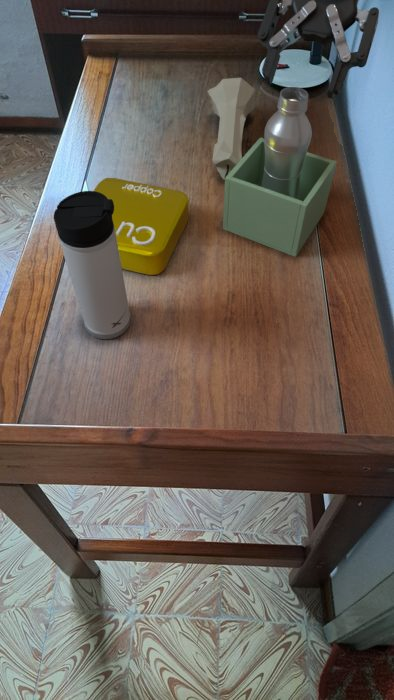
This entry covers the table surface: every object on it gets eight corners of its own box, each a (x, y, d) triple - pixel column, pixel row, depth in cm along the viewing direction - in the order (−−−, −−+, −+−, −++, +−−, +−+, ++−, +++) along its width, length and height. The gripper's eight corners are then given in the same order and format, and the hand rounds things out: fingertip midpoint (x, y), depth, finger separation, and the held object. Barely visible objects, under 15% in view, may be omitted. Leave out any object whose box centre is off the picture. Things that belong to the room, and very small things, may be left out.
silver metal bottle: (276, 237, 78) (297, 114, 62) (246, 215, 81) (257, 92, 65) (304, 219, 81) (331, 95, 64) (274, 198, 84) (292, 75, 67)
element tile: (192, 214, 83) (191, 189, 79) (160, 279, 74) (158, 255, 70) (107, 196, 85) (102, 171, 81) (67, 257, 77) (60, 233, 73)
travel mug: (131, 339, 68) (110, 224, 52) (82, 340, 68) (46, 225, 52) (134, 304, 72) (115, 185, 55) (87, 304, 72) (54, 186, 55)
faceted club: (260, 106, 99) (257, 192, 86) (218, 115, 102) (208, 200, 88) (251, 61, 92) (246, 148, 79) (206, 72, 95) (194, 158, 81)
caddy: (324, 213, 83) (337, 161, 75) (295, 257, 77) (306, 206, 69) (254, 188, 86) (260, 137, 78) (222, 229, 81) (224, 177, 73)
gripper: (283, -76, 61) (241, 66, 64) (403, -59, 57) (351, 90, 61) (291, -39, 68) (253, 87, 71) (397, -21, 65) (352, 110, 68)
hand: (298, 89), depth 66 cm, fingers open, 8 cm apart
